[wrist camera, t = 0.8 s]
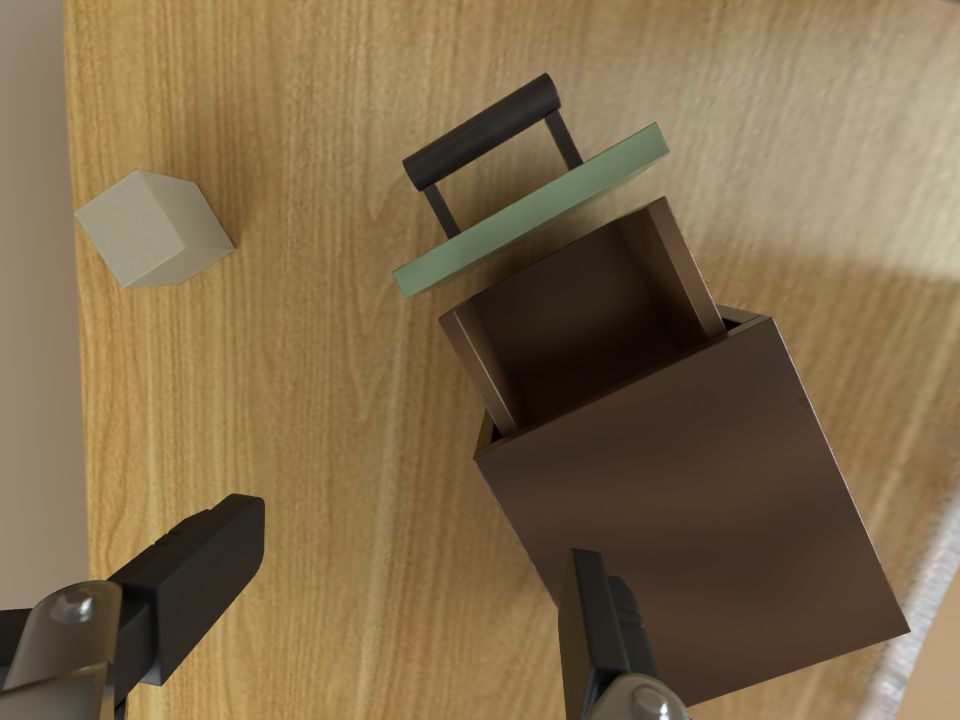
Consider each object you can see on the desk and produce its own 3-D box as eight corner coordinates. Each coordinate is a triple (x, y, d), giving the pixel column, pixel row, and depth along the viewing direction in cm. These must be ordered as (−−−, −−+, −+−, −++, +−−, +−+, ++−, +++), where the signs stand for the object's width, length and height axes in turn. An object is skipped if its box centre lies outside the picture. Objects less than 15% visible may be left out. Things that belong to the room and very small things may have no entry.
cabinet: (488, 394, 29) (471, 458, 20) (686, 296, 27) (773, 316, 17) (594, 587, 31) (624, 729, 22) (785, 511, 29) (912, 632, 19)
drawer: (390, 199, 26) (336, 175, 19) (579, 85, 24) (605, 6, 17) (537, 469, 29) (542, 545, 21) (720, 386, 27) (798, 437, 19)
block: (139, 219, 29) (71, 212, 24) (195, 182, 28) (135, 167, 24) (180, 284, 29) (121, 289, 25) (236, 249, 28) (185, 248, 24)
